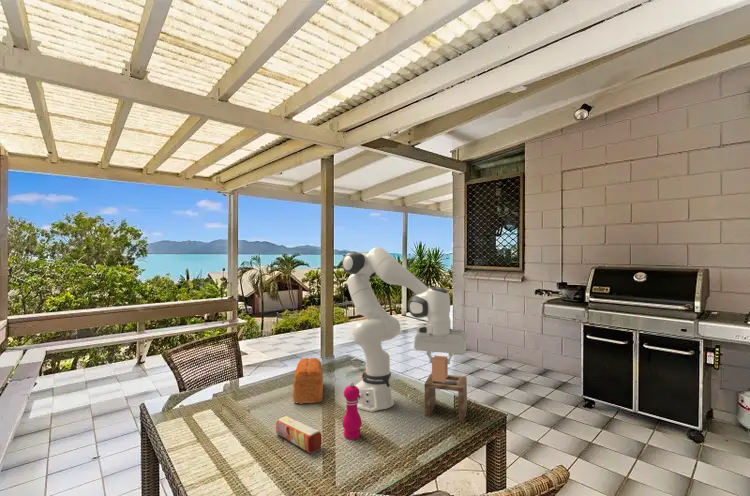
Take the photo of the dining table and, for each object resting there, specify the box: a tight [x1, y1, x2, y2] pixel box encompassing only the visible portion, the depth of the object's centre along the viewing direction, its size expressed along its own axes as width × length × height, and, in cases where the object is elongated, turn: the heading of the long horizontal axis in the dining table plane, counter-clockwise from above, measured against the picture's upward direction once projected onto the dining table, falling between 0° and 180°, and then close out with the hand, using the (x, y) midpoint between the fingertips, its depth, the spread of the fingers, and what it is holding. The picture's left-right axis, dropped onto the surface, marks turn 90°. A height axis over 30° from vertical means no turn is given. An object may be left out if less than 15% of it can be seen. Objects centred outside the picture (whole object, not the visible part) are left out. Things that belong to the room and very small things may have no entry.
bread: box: [292, 357, 324, 404], centre depth 174 cm, size 14×27×15 cm, turn 8°
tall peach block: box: [431, 355, 449, 382], centre depth 138 cm, size 5×7×8 cm
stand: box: [424, 372, 468, 422], centre depth 151 cm, size 16×14×14 cm
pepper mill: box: [342, 381, 363, 440], centre depth 132 cm, size 7×7×20 cm
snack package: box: [275, 415, 323, 454], centre depth 128 cm, size 21×7×7 cm, turn 48°
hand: (439, 363), depth 138 cm, fingers closed on tall peach block, 5 cm apart
